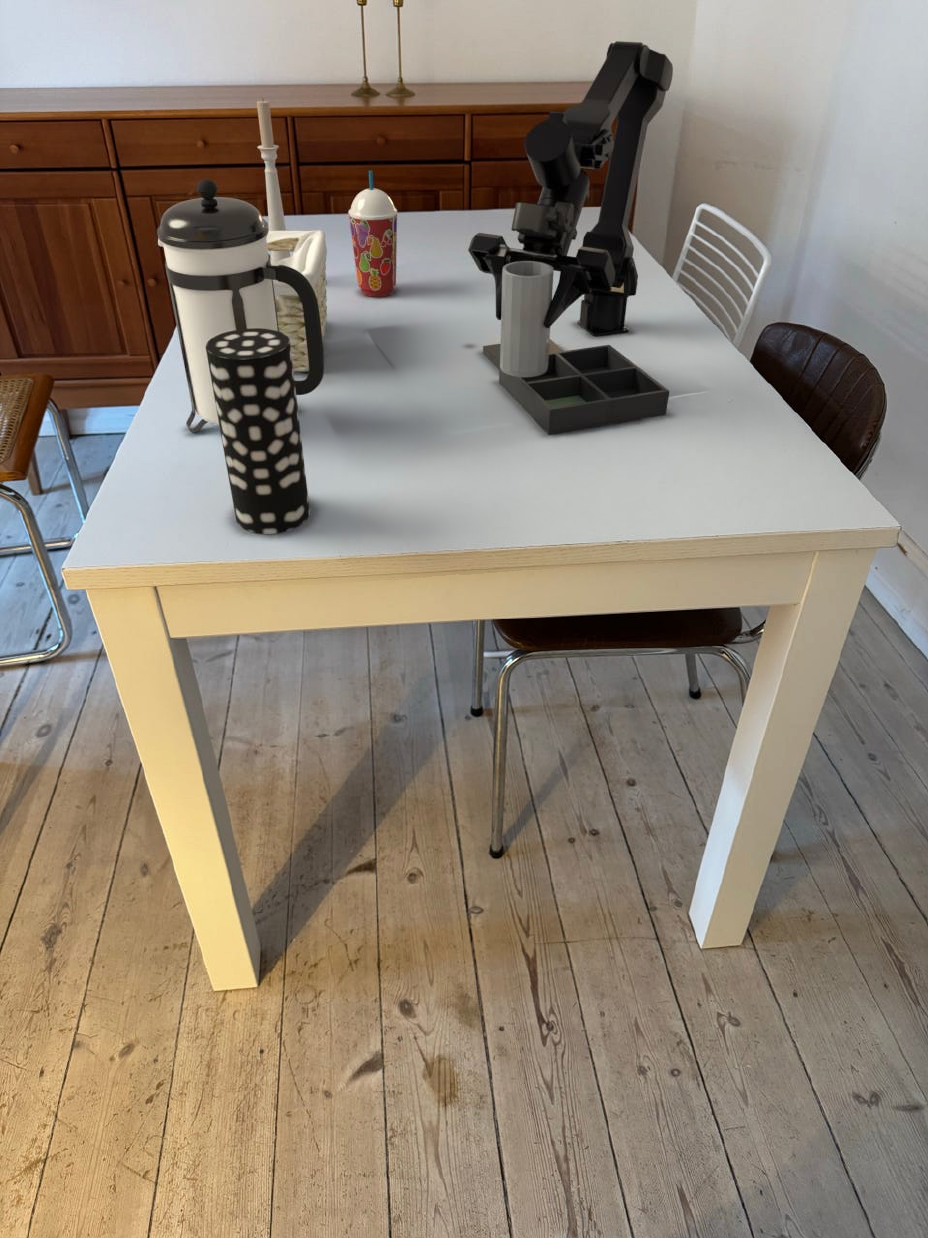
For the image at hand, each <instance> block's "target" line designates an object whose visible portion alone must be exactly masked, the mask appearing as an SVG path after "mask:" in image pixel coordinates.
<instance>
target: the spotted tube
mask: <svg viewBox="0 0 928 1238" xmlns="http://www.w3.org/2000/svg"><path fill="white" fill-rule="evenodd" d="M206 352H207V358H208V364H209V369H210V375H211V381H212V386H213V392H214V398H215V403H216V409H217V415H218V420H219V426H218V427H219V432H220V436H221V442H222V448H223V453H224V459H225V465H226V471H227V477H228V483H229V488H230V493H231V499H232V504H233V510H234V516H235V521H236V523H237V525H238V526H239V527H240V528H242V529H243V530H245V531H247V532H250V533H253V534H259V535H260V534H262V535H272V534H273V535H274V534H281V533H285V532H289V531H292V530H294V529H296V528H299V527H300V526H302V525H303V524H304V523H306V522H307V520H308V518H309V517H310V514H311V508H310V501H309V491H308V483H307V474H306V466H305V459H304V457H305V456H304V449H303V442H302V441H303V440H302V434H301V433H302V432H301V424H300V415H299V409H298V400H297V399H298V398H297V395H296V389H295V381H296V380H295V373H294V372H295V371H294V372H293V364H292V355H291V347H290V339H289V338H288V336H287V335H285V334H284V333H281V332H279V331H275V330H270V329H261V328H249V329H239V330H233V331H228V332H225V333H222V334H219V335H217V336H215V337H213V338H211V339H210V340H209V341H208V342H207V344H206ZM294 380H295V381H294Z"/></svg>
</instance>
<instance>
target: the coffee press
mask: <svg viewBox="0 0 928 1238" xmlns="http://www.w3.org/2000/svg"><path fill="white" fill-rule="evenodd" d="M218 189H219V188H218V187H217V185H216V183H215V182H214V181H213V180H211V179H209V178H203V179H200V181H198V183H197V188H196V191H197V193H198V195H199V197H198V198H192V199H188V200H184V201H183V200H182V201H181V202H177V203H176V204H174V205H172V206H171V207H169V208H168V209H167V210H166V211H165V212H164V213H163V214H162V216H161V219H160V224H159V226H158V227H157V229H156V233H157V238H158V239H157V244H158V246H159V247H162V248H163V251H164V257H165V261H164V267H165V273H166V277H167V281H168V287H169V293H170V298H171V299H170V300H171V303H172V304H171V305H172V309H173V314H174V319H175V324H176V325H175V326H176V328H177V329H176V330H177V335H178V339H179V346H180V350H181V355H182V360H183V366H184V371H185V377H186V381H187V387H188V392H189V398H190V404H191V411H190V414H189V416H188V418H187V420H186V423H185V425H186V427H187V429H188V431H189V432H190V433H192V434H197V433H199V432H200V431H201V430H202V429H203V427H204V426H205V425H206V424H211V425H215V426H218V427H220V426H219V420H218V415H217V409H216V403H215V398H214V392H213V386H212V381H211V375H210V369H209V364H208V358H207V352H206V344H207V342H208V341H209V340H210V339H211V338H213V337H215V336H217V335H219V334H222V333H225V332H228V331H233V330H239V329H249V328H261V329H270V330H275V331H279V327H278V319H277V311H276V303H275V295H274V287H273V280H278V282H283V283H286V284H288V285H290V286H291V287H292V288H293V289H294V290H295V291H296V293H297V294H298V296H299V298H300V300H301V303H302V307H303V314H304V323H305V332H306V342H307V351H308V361H309V371H308V374H307V377H306V378H305V379H302V380H295V379H294V381H295V389H296V396H303V395H307V394H310V393H312V392H313V391H315V390H316V389H317V388H318V387H319V386H320V384H321V382H322V380H323V377H324V374H325V354H324V353H325V352H324V340H323V341H322V331H321V321H320V313H319V306H318V302H317V298H316V295H315V292H314V290H313V288H312V286H311V284H310V283H309V281H308V280H307V279H306V278H305V277H304V276H303V275H302V274H301V273H300V272H298V271H297V270H295V269H293V268H290V267H288V266H284V265H278V266H272V265H271V263H272V260H271V253H269V251H268V247H267V238H266V237H267V235H268V232H269V222H268V221H266V219H264V218H263V215H262V214H261V211H260V210H259V209H258V208H257V207H256V206H254V205H253V204H251V203H250V202H247V201H244V200H242V199H237V198H233V197H226V196H225V197H223V196H217V193H218ZM196 414H197V415H198V417H200V419H201V420H200V421H199V422H198V423H197V425H195V427H191V425H192V423H193V422H194V419H195V417H196Z"/></svg>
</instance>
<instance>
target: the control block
mask: <svg viewBox="0 0 928 1238" xmlns="http://www.w3.org/2000/svg"><path fill="white" fill-rule="evenodd" d="M500 347H501V343H495V344H488V345H483V346H482V354H483V355H484V357H486V359H488V360H489V361H490V363H491V364H492V365H494V366H495V368H497V369H498V370H499V361H500ZM561 351H565V350H564V349H562V347H560V346H559V345H558V344H557V343H556V342H554V340H552V339H551V338H550V341H549V353H555V352H561Z"/></svg>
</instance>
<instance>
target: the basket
mask: <svg viewBox="0 0 928 1238" xmlns="http://www.w3.org/2000/svg"><path fill="white" fill-rule="evenodd" d="M266 238H267V247H268V252H271V251H289V252H290V253H293V254H292V255H290V256H291V257H288V258H286V259H283V260H280V261H278V262H275V263H272V262H271V265H272V266H278V265H284V266H288V267H290V268H293V269H295V270H297V271H298V272H300V273H301V274H302V275H303V276H304V277H305V278H306V279H307V280H308V281H309V283H310V284H311V286H312V288H313V290H314V292H315V295H316V298H317V302H318V306H319V313H320V321H321V331H322V341H323V342H324V338H325V336H326V335H325V333H326V332H325V331H326V328H327V325H328V312H327V311H328V305H327V300H328V297H327V281H326V277H327V272H326V271H327V264H326V263H327V254H328V248H327V242H326V233H325V231H323V230H317V229H315V230H286V231H269V232H268V235H267V237H266ZM273 287H274V295H275V303H276V311H277V319H278V327H279V332H281V333H284V334H285V335H287V336H288V338H289V339H290V347H291V355H292V364H293V372H309V361H308V351H307V342H306V332H305V323H304V314H303V307H302V303H301V300H300V298H299V296H298V294H297V293H296V291H295V290H294V289H293V288H292V287H291V286H290V285H288V284H286V283H283V282H278V280H273Z"/></svg>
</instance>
